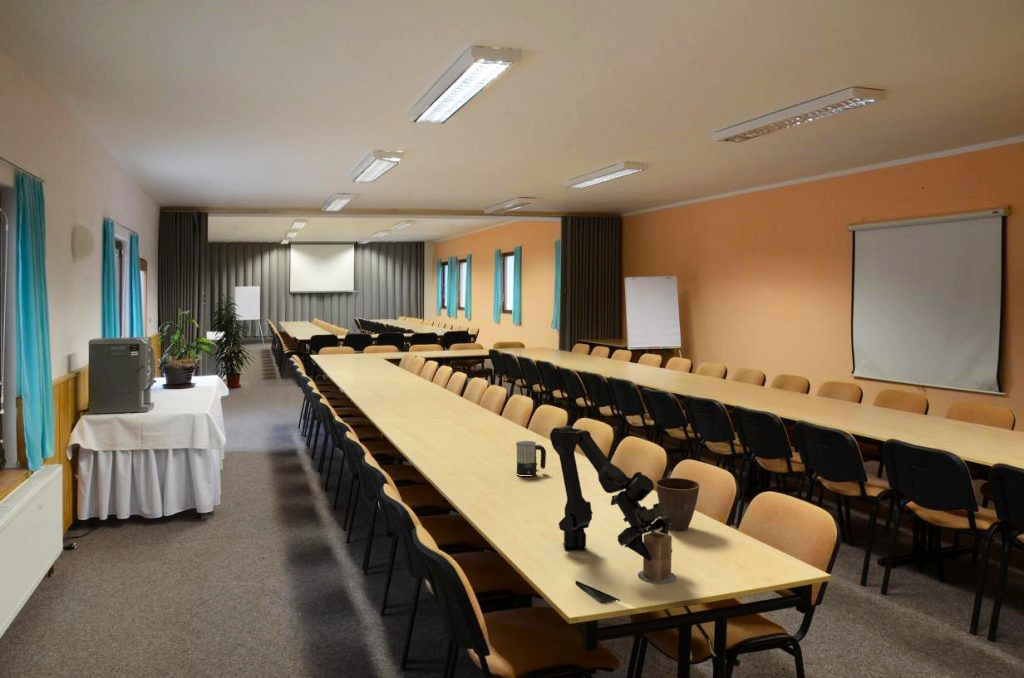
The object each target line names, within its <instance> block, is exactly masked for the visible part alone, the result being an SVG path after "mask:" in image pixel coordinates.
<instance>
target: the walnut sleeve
mask: <svg viewBox="0 0 1024 678" xmlns="http://www.w3.org/2000/svg"><path fill="white" fill-rule="evenodd" d="M672 537H673V536H672V535H669V534H668V535H667V534H664V533H661V532H658V531H655V532H652V533H651V532H649V533H645V534H643V543H644V545H645V546H646V548H647V550H648V552H649V554H650V556H651V558H652V560H651V561H648V560H647V559H645V558H644V557H643V561H642V563H643V566H642V568H643V570H642V571H643V576H645V577H647V578H650V579H652V580H655V581H658V582H660V581H662V580H665V579H667V578H670V577H671V573H672V553H671V550H672V551H673V547H672V543H673V540H672Z"/></svg>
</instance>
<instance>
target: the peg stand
mask: <svg viewBox="0 0 1024 678" xmlns="http://www.w3.org/2000/svg"><path fill="white" fill-rule="evenodd" d="M637 578H638V579H639V580H641V581H642V582H645V583H648V584H653V585H669V584H672V583H675V582H676V581H677V576H676V575H675V574H674V573H672V572H671V577H670V578H667V579H665V580H662V581H660V582H658V581H655V580H652V579H650V578H647V577H645V576H643V570H640V571H639V572H638V573H637Z"/></svg>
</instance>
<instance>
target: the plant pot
mask: <svg viewBox="0 0 1024 678" xmlns="http://www.w3.org/2000/svg"><path fill="white" fill-rule="evenodd" d="M655 487H656V493H657V494H656V495H657V499H658V500H657V501H658V503H661V504H662V505H663V506H664V508H665V513H663V515H664V516H667V517H669V518H670V520H671V521H672V524H671V527H670V528H669V531H673V532H685V531H687V530H688V529H689V527H690V524H691V522H692V519H693V515H694V514H695V511H696V510H695V509H696V506H697V502H698V496H699V490H700V483H698V482H697V481H695V480H692V479H687V478H681V477H679V478H678V477H665V478H662V479H658V480H657V481H656V482H655Z"/></svg>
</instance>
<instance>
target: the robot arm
mask: <svg viewBox="0 0 1024 678" xmlns="http://www.w3.org/2000/svg"><path fill="white" fill-rule="evenodd" d="M549 439H550V441H551V446H552V449H553V450H554V451H555V452H556V453H557V454H558V457H559V463H560V467H561V473H562V478H563V483H564V488H565V493H566V503H565V506H564V517H563V518H562V519H561V520H560V521H559V522H558V528H559V530H560V531H563V542H562V546H563V549H564V550H565V551H567V552H569V551H570V552H571V551H586V547H587V534H586V532H585V529H588V528H589V526H590V523H591V521H592V519H593V514H594V513H593V510H592V504H591V503H592V502H591V501H587V500H586V499H585V498H584V496H583V492H582V486H581V482H580V478H579V471H578V465H577V461H576V456H575V451H576V448H577V446H578V447H579V448H580V450H581V451H582V453H583V454H584V455H585V457H586V458H587V460H588V461H589V462H590V464H591V465H592V467H593V468H594V469H595V471H596V473H597V477H598V478H597V479H598V482H599V483H600V486H601V488H602V489H603V491H604V492H606V494H614V493H617V494H614V495H611V500H610V505H611V506H615V505H617V506H618V507H619V510H620V511H621V512H622V514H623V516H624V518H623V519H622V521H623V522H625V523H626V522H628V524H629V525H630V526H629V527H625V528H624V529H623V530H622V532H620V533H619V534H618V535H617V542H618V544H619V545H620V546H621V547H623V546H624V548H628V549H630V550H632V551H633V552H634V553H636V554H638V555H639V556H640V557H644V558H645V559H647V560H648V561H651V560H652V558H651V556H650V554H649V552H648V550H647V548H646V546H645V545H644V538H643V535H645V534H648V533H652V532H655V531H658V532H661V533H664V534H667V535H669V531H670V530H669V528H670V527H671V524H672V521H671V520H670V518H669V517H667V516H664V515H663V513H665V508H664V506H663V505H662V504H661V503H659V502H658V503H654V504H652V508H649V509H648V508H647V507H646V506H645V505H643V506H641V504H640V503H639V502H642V501H644V499H645V498H646V497H648V495H650V494H651V493H652V492H653V490H654V489H655V484H654V481H653V480H652V479H651V478H649V477H648V476H647V475H645V474H642V472H641V471H637V472H635V473H633V474H632V475H633V476H631V477H630V476H627V475H626V474H625V472H624V471H623V470H622V469H621V468H619V466H616V465H614V464H613V463H612V462H611V461H610V460H609V459H608V458H607V456H606V455H605V454H604V452H603V451H602V450H601V448H600V447H599V446H598V444H597V443H596V442H595V440H594V439H593V437H592V436H591V432H590V431H589V430H586V429H584V430H583V429H581V428H578V429H577V428H574V427H573V426H572V425H564V426H559V427H558V426H557V427H554V428H552V430H551V431H550V432H549ZM672 553H673V549H672V550H671V554H672Z"/></svg>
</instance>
